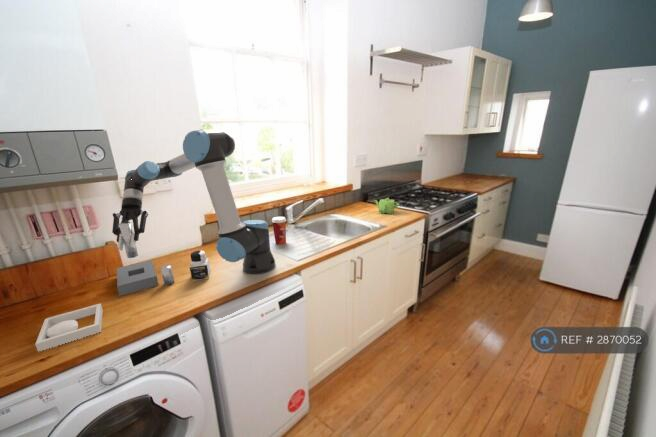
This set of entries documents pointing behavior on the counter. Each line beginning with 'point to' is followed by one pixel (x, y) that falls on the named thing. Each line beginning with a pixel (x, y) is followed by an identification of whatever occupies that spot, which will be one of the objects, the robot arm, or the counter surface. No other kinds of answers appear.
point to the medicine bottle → (199, 266)
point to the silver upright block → (167, 275)
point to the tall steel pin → (128, 239)
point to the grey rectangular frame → (47, 343)
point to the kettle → (386, 206)
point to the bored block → (136, 277)
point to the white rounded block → (62, 328)
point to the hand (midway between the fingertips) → (126, 248)
